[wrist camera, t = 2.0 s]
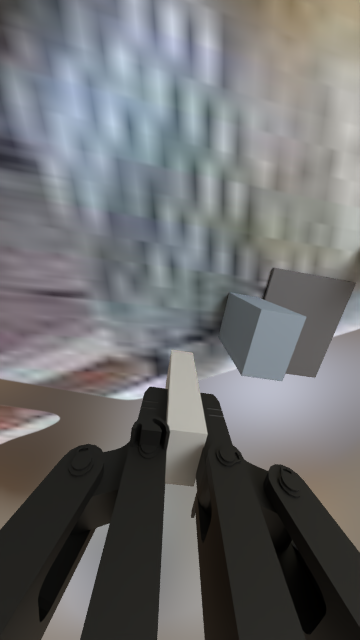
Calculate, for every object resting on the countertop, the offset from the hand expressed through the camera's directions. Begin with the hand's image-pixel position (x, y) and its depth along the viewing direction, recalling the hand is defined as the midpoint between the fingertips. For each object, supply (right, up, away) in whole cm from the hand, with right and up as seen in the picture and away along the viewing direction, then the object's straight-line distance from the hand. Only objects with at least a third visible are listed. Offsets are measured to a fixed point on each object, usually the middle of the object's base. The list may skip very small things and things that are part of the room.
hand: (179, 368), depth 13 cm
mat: (+20, +2, +20) cm, 28 cm away
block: (+10, +4, +19) cm, 22 cm away
